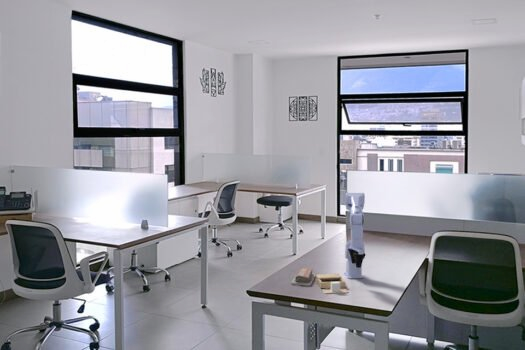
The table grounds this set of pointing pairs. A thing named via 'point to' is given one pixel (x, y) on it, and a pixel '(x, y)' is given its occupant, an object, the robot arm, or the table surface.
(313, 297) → the table surface
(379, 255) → the table surface
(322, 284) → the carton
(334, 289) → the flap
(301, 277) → the packaged product
